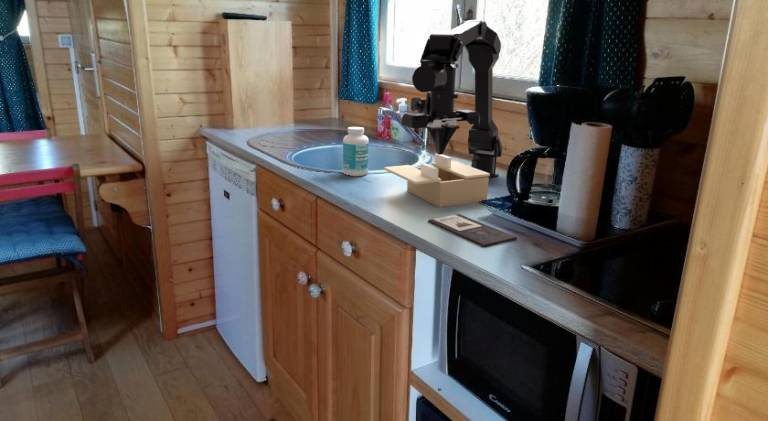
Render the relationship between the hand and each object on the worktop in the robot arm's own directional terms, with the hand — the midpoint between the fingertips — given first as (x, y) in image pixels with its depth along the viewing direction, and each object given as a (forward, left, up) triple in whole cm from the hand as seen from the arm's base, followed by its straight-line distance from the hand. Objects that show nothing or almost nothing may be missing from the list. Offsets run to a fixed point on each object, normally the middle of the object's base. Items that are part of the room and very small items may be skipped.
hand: (439, 154), depth 140 cm
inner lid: (-8, -3, -6) cm, 11 cm away
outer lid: (+6, -3, -6) cm, 9 cm away
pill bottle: (+7, -33, -12) cm, 36 cm away
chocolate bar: (+5, +22, -13) cm, 25 cm away
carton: (-5, -3, -12) cm, 13 cm away
